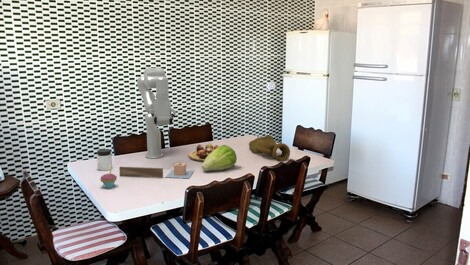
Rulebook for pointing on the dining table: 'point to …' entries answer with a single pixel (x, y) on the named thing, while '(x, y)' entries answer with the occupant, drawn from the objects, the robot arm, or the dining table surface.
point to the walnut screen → (141, 172)
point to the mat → (186, 176)
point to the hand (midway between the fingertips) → (163, 124)
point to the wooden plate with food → (202, 152)
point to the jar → (104, 159)
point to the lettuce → (220, 159)
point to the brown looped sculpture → (269, 147)
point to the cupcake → (108, 179)
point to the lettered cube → (180, 169)
